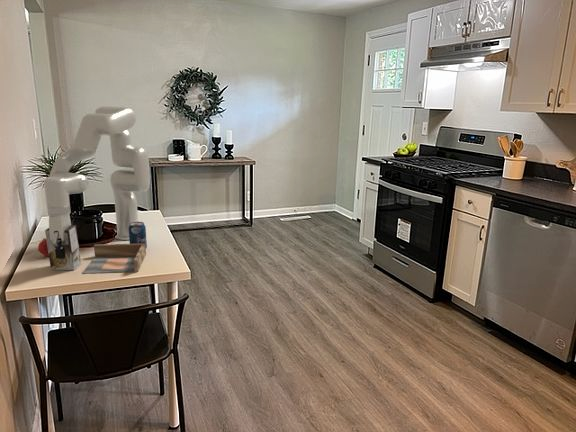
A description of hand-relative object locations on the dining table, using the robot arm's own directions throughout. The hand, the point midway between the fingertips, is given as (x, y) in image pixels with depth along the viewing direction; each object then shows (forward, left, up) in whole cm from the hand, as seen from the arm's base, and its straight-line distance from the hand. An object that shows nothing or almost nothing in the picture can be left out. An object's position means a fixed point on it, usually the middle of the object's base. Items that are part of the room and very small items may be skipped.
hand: (64, 254), depth 162 cm
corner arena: (-2, +18, -5) cm, 19 cm away
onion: (-12, -11, -6) cm, 17 cm away
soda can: (-17, +24, -6) cm, 30 cm away
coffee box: (0, 0, -6) cm, 6 cm away
